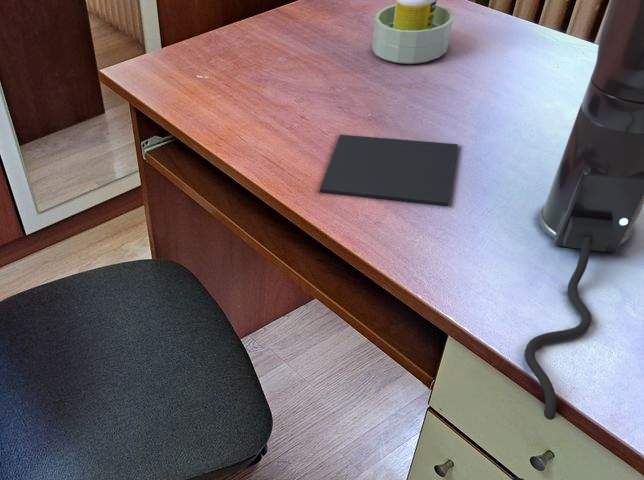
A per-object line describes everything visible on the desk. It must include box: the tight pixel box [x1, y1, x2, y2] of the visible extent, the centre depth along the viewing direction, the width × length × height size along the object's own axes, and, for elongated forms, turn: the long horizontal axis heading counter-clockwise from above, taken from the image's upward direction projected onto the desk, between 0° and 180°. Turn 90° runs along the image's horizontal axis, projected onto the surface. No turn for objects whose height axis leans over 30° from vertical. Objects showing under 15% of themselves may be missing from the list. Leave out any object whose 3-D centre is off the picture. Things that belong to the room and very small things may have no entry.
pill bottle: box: [393, 0, 438, 31], centre depth 107 cm, size 6×6×11 cm
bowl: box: [371, 3, 455, 65], centre depth 109 cm, size 12×12×6 cm
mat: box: [319, 134, 459, 207], centre depth 88 cm, size 14×16×1 cm
